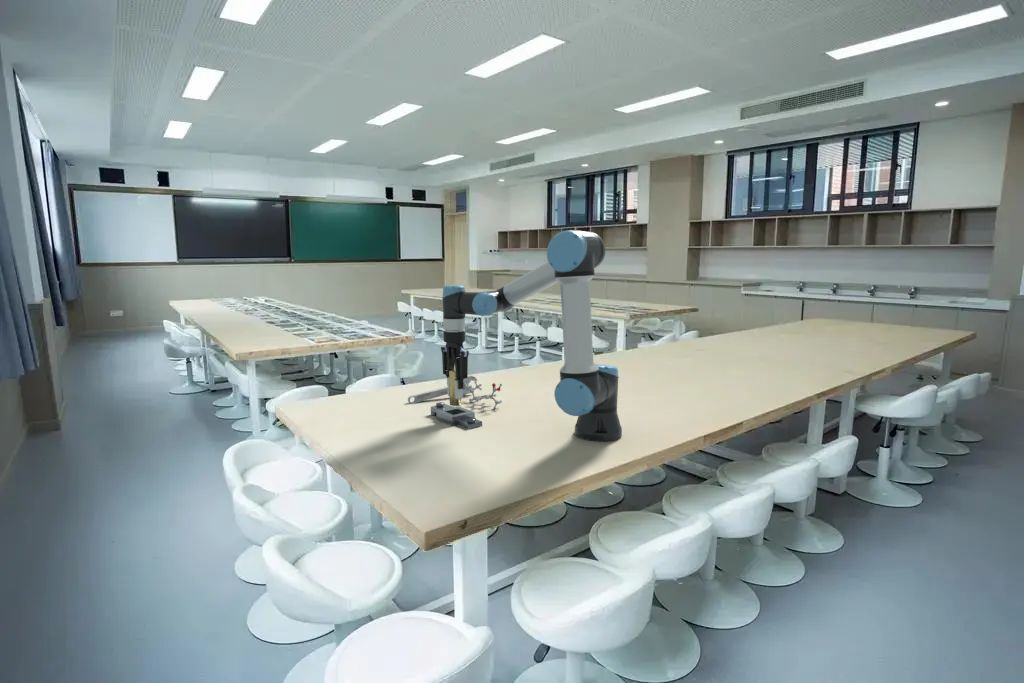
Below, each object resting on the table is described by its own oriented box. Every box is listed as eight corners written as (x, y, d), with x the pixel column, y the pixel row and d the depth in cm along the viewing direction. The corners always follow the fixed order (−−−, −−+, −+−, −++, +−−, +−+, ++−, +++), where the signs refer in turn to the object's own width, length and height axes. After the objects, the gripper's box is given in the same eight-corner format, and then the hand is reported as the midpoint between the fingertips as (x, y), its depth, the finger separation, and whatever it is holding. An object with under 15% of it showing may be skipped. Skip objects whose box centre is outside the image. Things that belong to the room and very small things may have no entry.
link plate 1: (474, 420, 194) (474, 409, 193) (452, 425, 188) (452, 414, 187) (448, 410, 206) (448, 400, 205) (426, 415, 200) (426, 404, 199)
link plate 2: (486, 424, 189) (486, 417, 189) (463, 430, 183) (463, 423, 183) (458, 414, 201) (458, 407, 201) (436, 419, 195) (436, 412, 195)
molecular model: (458, 402, 218) (458, 377, 218) (480, 400, 224) (481, 376, 223) (483, 412, 202) (484, 385, 202) (506, 409, 208) (507, 383, 207)
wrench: (409, 410, 218) (477, 392, 232) (410, 411, 216) (479, 393, 230) (406, 390, 216) (474, 373, 230) (407, 391, 214) (476, 374, 228)
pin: (463, 404, 193) (463, 370, 192) (454, 406, 191) (453, 372, 189) (456, 402, 196) (456, 369, 194) (447, 404, 194) (446, 370, 192)
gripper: (478, 332, 186) (478, 399, 189) (449, 326, 198) (450, 390, 202) (460, 334, 181) (460, 403, 184) (431, 328, 193) (432, 393, 197)
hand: (455, 396), depth 193 cm, fingers closed on pin, 4 cm apart
